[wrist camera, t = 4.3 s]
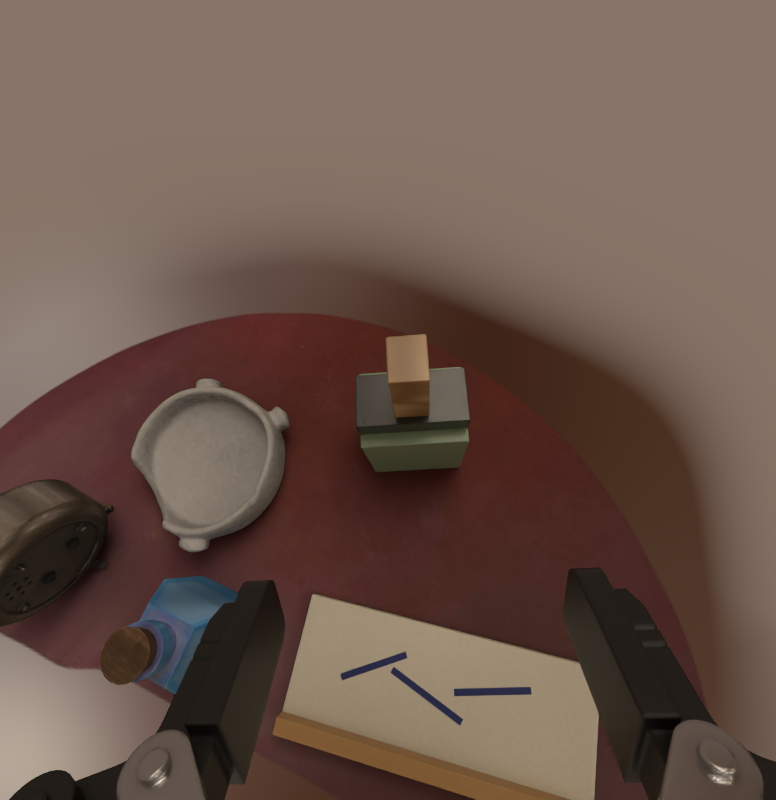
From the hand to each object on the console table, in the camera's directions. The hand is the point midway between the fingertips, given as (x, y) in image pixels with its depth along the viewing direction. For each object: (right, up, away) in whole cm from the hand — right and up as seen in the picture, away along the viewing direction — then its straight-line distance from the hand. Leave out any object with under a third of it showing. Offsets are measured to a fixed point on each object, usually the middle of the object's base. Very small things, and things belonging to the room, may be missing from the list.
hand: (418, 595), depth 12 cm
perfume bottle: (-16, -15, +26) cm, 34 cm away
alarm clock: (-29, -9, +29) cm, 42 cm away
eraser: (+1, +5, +21) cm, 21 cm away
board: (+3, -19, +23) cm, 30 cm away
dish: (-17, -1, +31) cm, 36 cm away
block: (+2, +1, +30) cm, 30 cm away
